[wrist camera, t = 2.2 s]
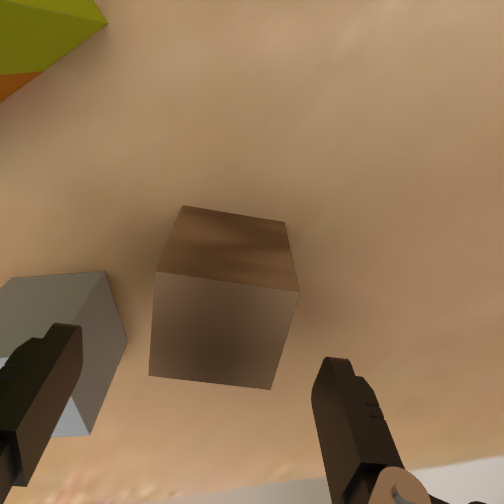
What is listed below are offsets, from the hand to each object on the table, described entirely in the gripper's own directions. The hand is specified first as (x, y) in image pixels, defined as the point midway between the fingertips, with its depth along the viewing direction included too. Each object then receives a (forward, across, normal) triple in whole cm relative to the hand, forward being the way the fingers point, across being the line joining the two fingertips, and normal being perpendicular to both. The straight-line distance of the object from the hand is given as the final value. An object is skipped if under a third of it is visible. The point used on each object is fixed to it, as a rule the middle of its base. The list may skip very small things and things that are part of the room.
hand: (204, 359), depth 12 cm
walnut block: (+8, -1, 0) cm, 8 cm away
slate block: (+8, +7, +5) cm, 12 cm away
